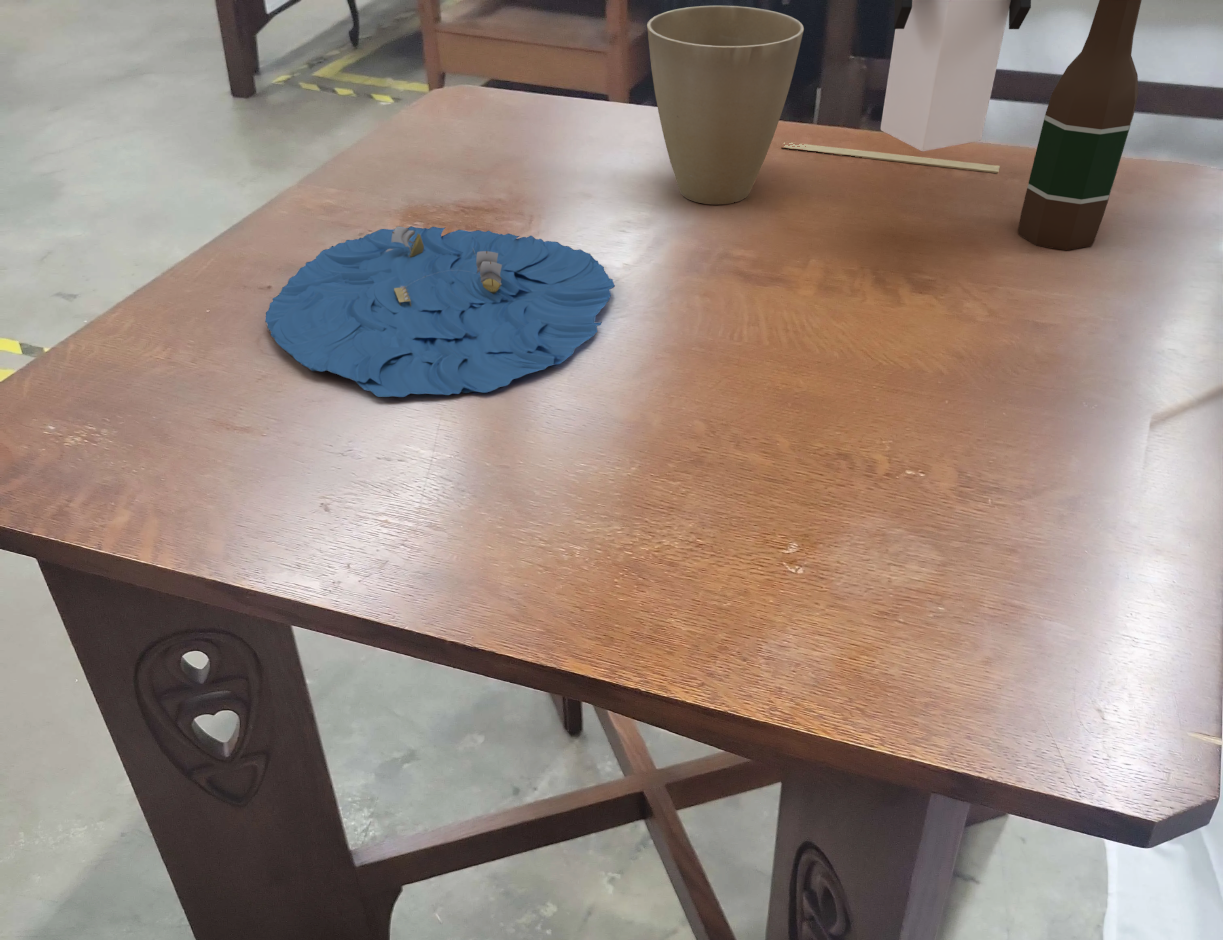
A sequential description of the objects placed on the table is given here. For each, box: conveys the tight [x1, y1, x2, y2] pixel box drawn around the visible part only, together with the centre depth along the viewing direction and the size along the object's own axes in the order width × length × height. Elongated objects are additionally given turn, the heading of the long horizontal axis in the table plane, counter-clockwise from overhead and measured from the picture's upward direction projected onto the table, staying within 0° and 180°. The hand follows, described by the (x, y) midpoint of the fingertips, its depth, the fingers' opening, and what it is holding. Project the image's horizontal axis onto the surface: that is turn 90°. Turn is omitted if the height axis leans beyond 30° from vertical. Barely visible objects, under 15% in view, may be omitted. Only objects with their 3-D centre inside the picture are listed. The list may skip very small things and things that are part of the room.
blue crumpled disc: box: [264, 225, 616, 398], centre depth 91 cm, size 30×30×5 cm
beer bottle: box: [1017, 0, 1142, 251], centre depth 95 cm, size 8×8×24 cm
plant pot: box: [646, 5, 805, 206], centre depth 107 cm, size 15×15×16 cm
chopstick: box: [783, 142, 1001, 174], centre depth 119 cm, size 24×2×1 cm, turn 69°
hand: (961, 18), depth 80 cm, fingers closed on milk, 8 cm apart
